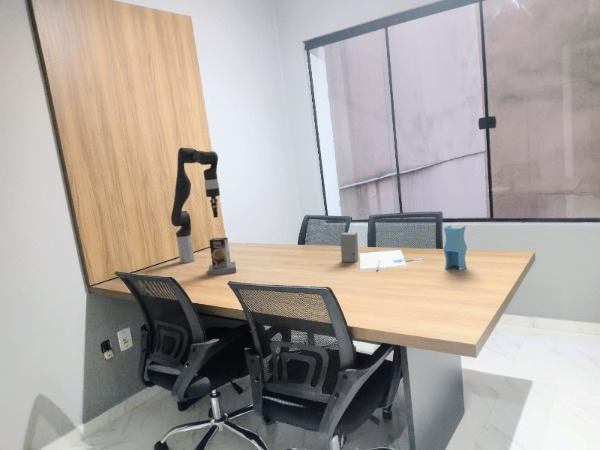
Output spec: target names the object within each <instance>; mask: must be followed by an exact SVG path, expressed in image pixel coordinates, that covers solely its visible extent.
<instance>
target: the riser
mask: <svg viewBox="0 0 600 450" xmlns="http://www.w3.org/2000/svg"><path fill="white" fill-rule="evenodd" d="M230 262H231V265H229V266H228V267H219V268H213V265H212V264H209V266H208V275H209V277H215V276H220V275H221V276H222V275H228V274H235V273H237V266H236V261H234V260H233V261H230Z"/></svg>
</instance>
